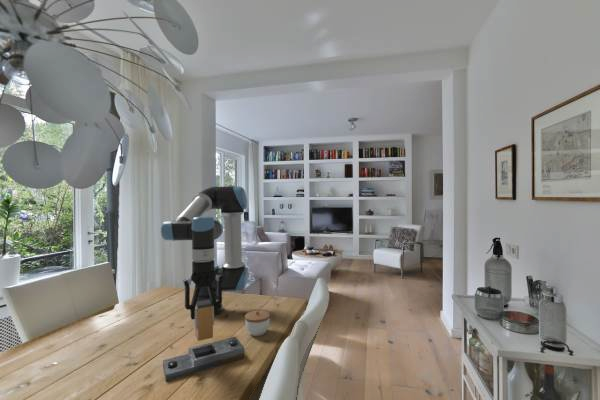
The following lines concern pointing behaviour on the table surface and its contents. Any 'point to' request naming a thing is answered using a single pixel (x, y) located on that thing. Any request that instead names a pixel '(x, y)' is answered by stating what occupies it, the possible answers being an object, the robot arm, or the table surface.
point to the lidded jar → (257, 322)
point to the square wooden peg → (204, 320)
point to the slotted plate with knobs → (204, 358)
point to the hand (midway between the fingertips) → (203, 325)
